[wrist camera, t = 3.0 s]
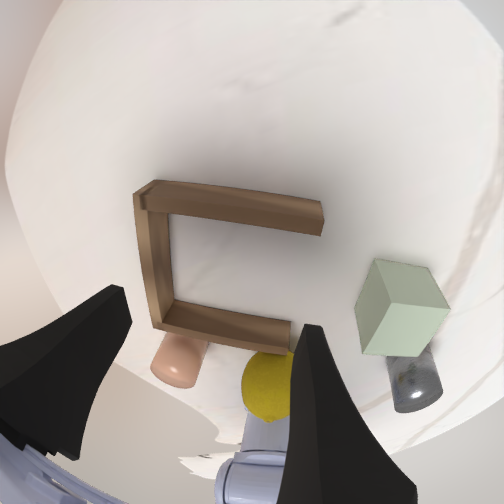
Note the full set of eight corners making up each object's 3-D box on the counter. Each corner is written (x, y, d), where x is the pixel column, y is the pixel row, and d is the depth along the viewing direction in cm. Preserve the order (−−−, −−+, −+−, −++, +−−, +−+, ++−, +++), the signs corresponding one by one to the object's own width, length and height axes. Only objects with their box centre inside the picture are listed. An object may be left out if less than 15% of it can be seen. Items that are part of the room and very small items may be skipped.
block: (403, 313, 21) (417, 356, 17) (354, 307, 21) (362, 354, 17) (427, 267, 18) (450, 309, 14) (374, 257, 19) (391, 302, 14)
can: (414, 367, 25) (424, 411, 19) (378, 366, 25) (385, 414, 20) (436, 339, 22) (452, 385, 17) (398, 337, 22) (412, 388, 17)
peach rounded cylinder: (209, 354, 27) (196, 392, 23) (170, 344, 28) (154, 380, 23) (208, 327, 25) (193, 369, 21) (166, 317, 25) (146, 356, 21)
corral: (288, 329, 23) (286, 355, 21) (165, 305, 24) (153, 327, 22) (320, 201, 17) (324, 220, 14) (154, 179, 18) (132, 193, 15)
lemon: (312, 334, 23) (311, 412, 17) (299, 367, 26) (294, 436, 19) (252, 324, 24) (235, 402, 17) (246, 359, 27) (232, 427, 20)
